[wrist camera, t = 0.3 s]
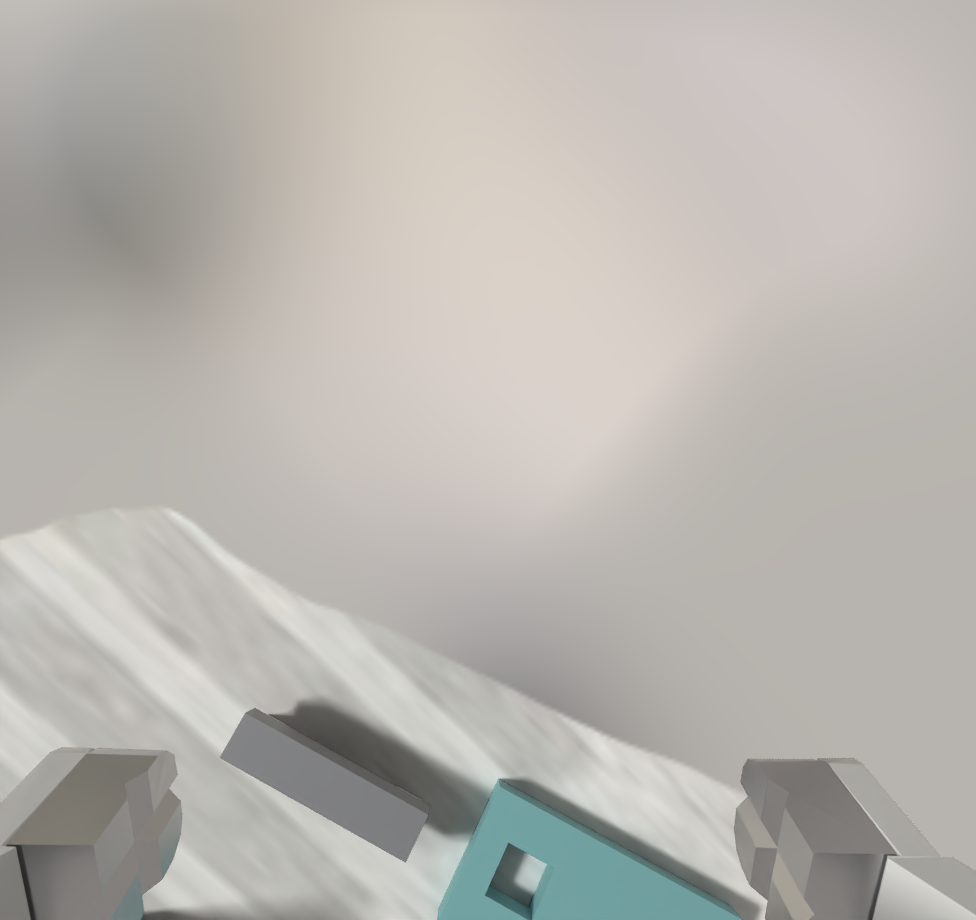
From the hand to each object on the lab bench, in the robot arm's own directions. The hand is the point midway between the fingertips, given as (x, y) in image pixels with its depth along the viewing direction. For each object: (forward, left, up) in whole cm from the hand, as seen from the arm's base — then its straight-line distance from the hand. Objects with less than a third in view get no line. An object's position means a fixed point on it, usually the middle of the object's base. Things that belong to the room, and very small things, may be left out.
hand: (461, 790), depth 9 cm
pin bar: (-7, +16, -53) cm, 56 cm away
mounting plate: (-27, 0, -53) cm, 59 cm away
